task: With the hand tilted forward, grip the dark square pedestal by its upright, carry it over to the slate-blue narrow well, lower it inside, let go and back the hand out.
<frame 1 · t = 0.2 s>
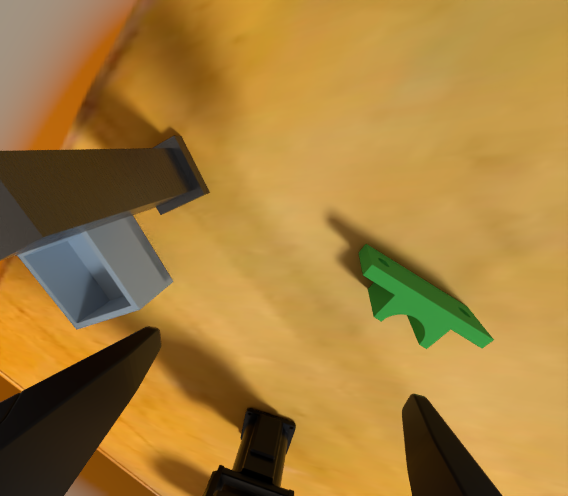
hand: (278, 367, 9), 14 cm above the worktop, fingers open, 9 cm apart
well: (121, 257, 27), on the worktop
pipe clamp: (402, 286, 22), on the worktop
dark square pedestal: (173, 176, 22), on the worktop
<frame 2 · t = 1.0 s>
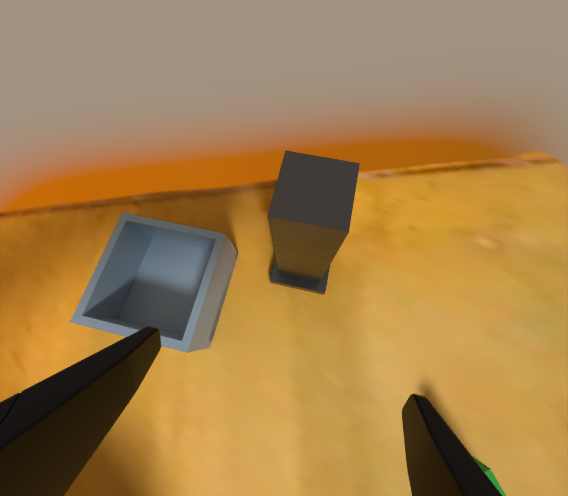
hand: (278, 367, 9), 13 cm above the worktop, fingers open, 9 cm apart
well: (180, 287, 23), on the worktop
dark square pedestal: (302, 263, 24), on the worktop
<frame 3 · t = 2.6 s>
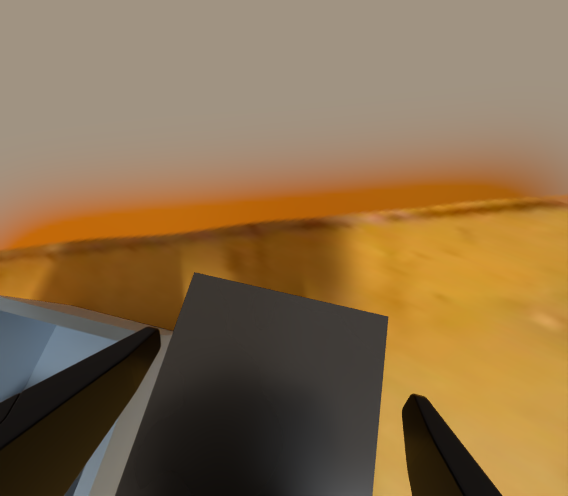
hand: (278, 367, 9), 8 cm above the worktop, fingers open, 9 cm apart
well: (98, 391, 16), on the worktop
dark square pedestal: (281, 352, 16), on the worktop
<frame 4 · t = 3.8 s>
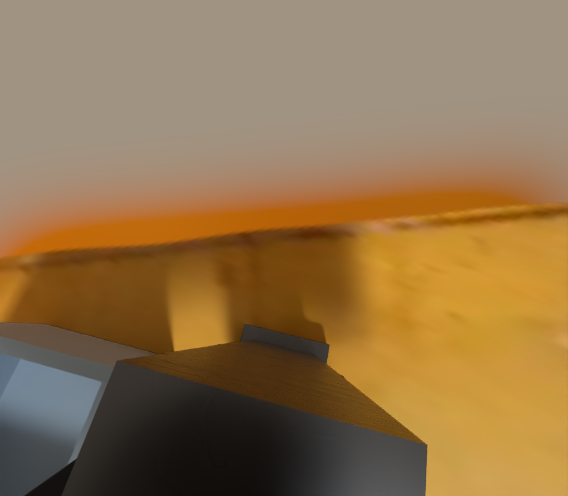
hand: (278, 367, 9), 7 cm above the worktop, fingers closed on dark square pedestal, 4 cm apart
well: (73, 422, 14), on the worktop
dark square pedestal: (277, 378, 15), on the worktop, touching gripper
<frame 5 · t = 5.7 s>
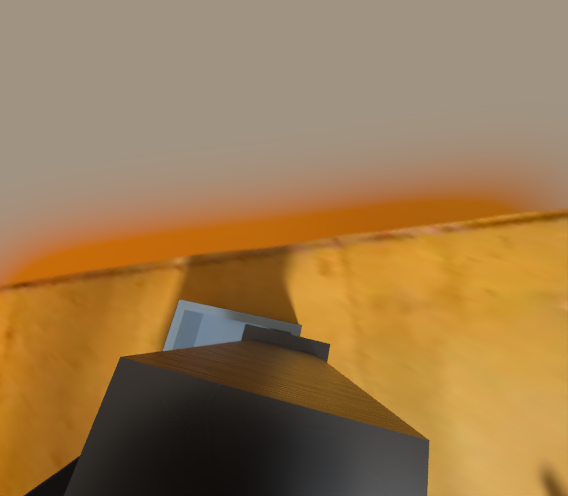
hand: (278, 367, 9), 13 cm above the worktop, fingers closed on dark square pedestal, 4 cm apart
well: (237, 369, 21), on the worktop
dark square pedestal: (277, 377, 15), point 7 cm above the worktop, touching gripper
when the fingers open (9 cm above the worktop, at t = 7.7 s): dark square pedestal drops 1 cm, resting on well.
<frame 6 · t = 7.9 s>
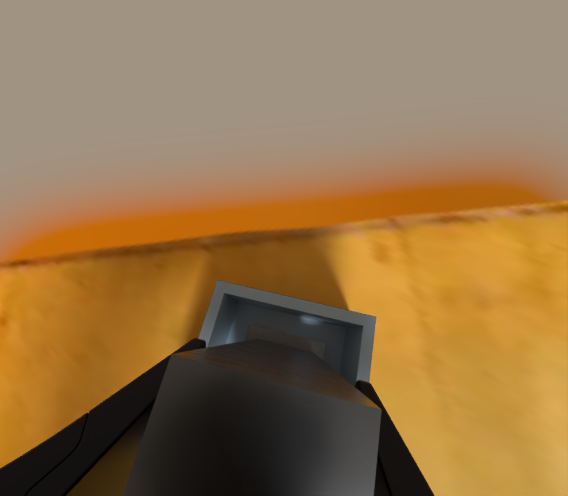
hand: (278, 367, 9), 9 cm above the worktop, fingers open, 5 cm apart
well: (278, 371, 17), on the worktop
dark square pedestal: (278, 374, 16), point 1 cm above the worktop, touching well
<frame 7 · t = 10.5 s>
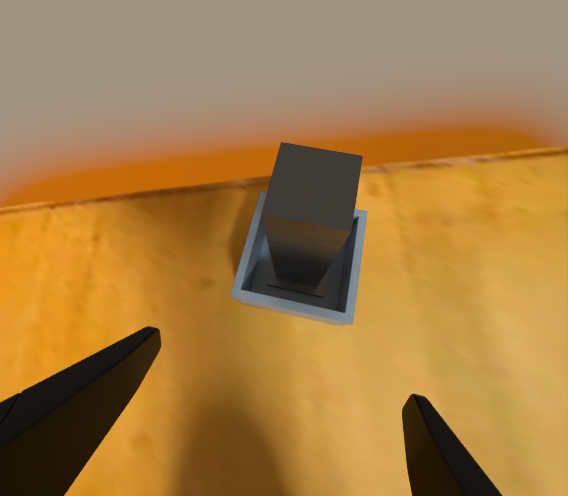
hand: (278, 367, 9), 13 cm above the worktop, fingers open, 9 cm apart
well: (299, 267, 24), on the worktop
dark square pedestal: (300, 265, 23), point 1 cm above the worktop, touching well
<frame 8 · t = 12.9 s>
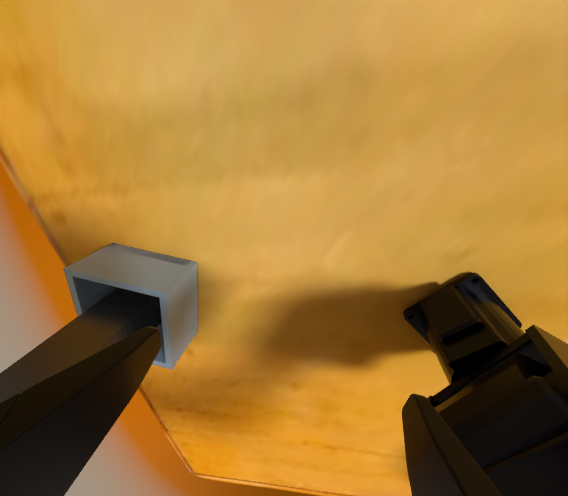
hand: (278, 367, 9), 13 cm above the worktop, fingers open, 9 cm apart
well: (158, 289, 26), on the worktop
dark square pedestal: (151, 295, 25), point 1 cm above the worktop, touching well
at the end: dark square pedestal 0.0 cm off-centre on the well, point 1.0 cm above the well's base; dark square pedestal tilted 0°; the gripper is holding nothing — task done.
